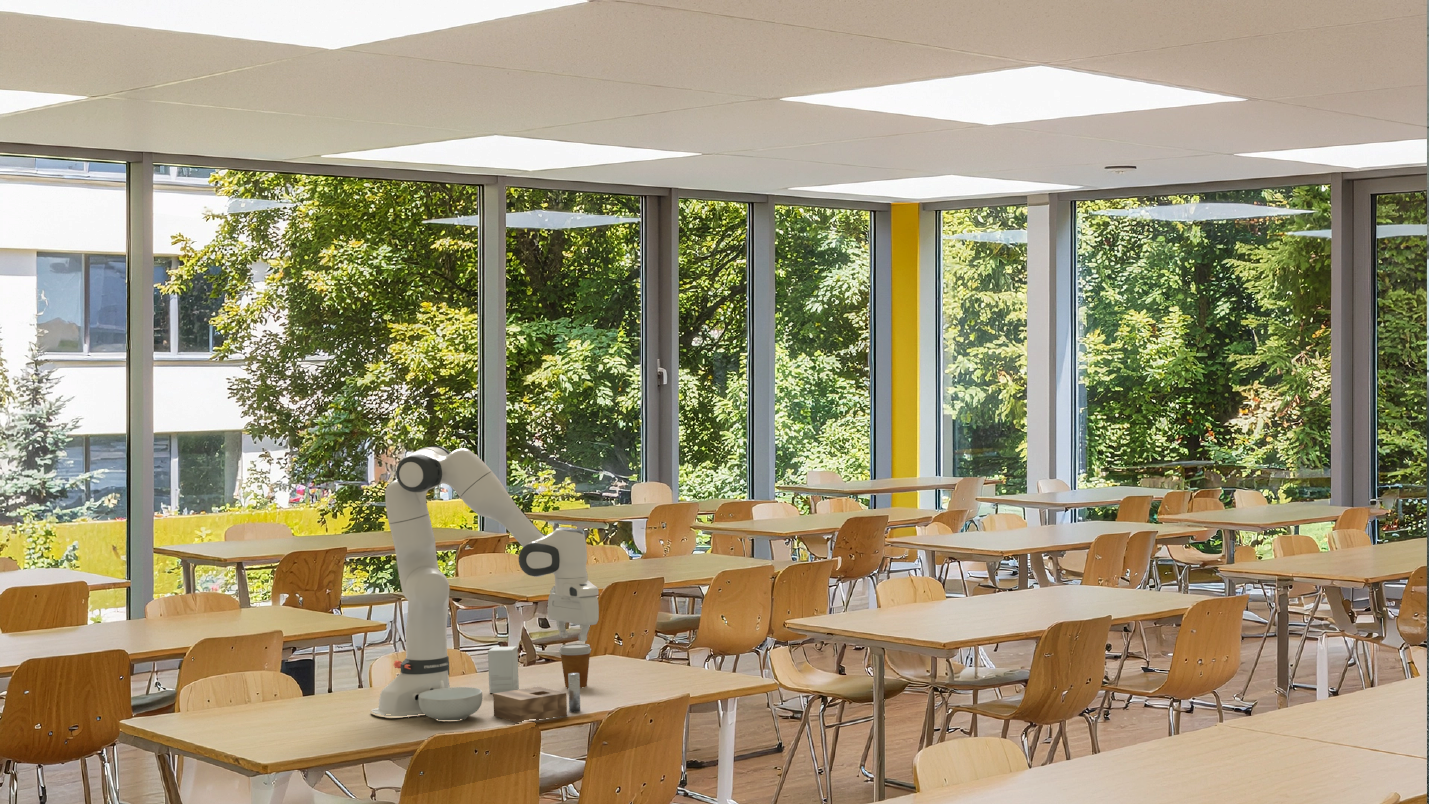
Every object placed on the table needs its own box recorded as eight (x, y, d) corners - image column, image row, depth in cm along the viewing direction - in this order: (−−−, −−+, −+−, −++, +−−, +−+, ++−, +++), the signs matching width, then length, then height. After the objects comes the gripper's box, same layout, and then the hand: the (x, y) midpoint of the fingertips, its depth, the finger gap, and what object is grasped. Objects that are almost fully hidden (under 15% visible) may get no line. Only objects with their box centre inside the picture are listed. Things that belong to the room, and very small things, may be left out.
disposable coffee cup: (590, 689, 431) (589, 647, 431) (557, 690, 431) (556, 648, 431) (593, 683, 440) (592, 643, 440) (562, 684, 440) (560, 643, 440)
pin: (573, 712, 395) (572, 675, 395) (567, 711, 398) (566, 673, 398) (582, 711, 397) (581, 673, 397) (576, 709, 399) (575, 672, 400)
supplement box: (519, 689, 434) (518, 645, 434) (513, 693, 427) (512, 649, 427) (494, 689, 435) (493, 646, 435) (488, 694, 427) (487, 650, 428)
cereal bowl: (414, 716, 396) (413, 690, 396) (475, 710, 402) (475, 684, 402) (424, 728, 380) (424, 700, 380) (489, 721, 386) (488, 694, 386)
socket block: (520, 723, 382) (520, 700, 383) (493, 716, 393) (493, 693, 394) (567, 715, 391) (566, 693, 391) (539, 708, 402) (538, 686, 402)
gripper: (541, 586, 404) (542, 637, 404) (582, 591, 388) (583, 644, 388) (560, 584, 408) (562, 634, 408) (602, 589, 392) (603, 641, 392)
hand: (573, 639), depth 398 cm, fingers open, 8 cm apart
